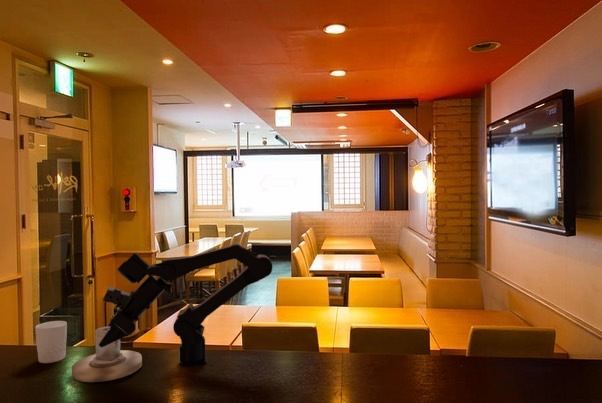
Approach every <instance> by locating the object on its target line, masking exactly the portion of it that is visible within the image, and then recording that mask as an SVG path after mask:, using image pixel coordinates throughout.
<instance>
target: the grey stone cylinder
mask: <svg viewBox="0 0 602 403" xmlns="http://www.w3.org/2000/svg"><path fill="white" fill-rule="evenodd" d="M109 329H110V326H108V325H107V326H102V327H98V328H96V329H95V331H94V332H95V333H94V335H95V338H94V339H95V341H94V342H95V343H94V344H95V354H96V356H95V357H94V358H93V364H94V365H95V366H110V365H114V364H117V363H119V362H121V361H122V360H123V354H122V353H120V350H121V339H119V340H117V341H114V342H112V343H110V344H108V345H106V346H104V347H100V346H99V343H100V342H101V340H102V339H103V337H104V336H105V334H106V333H107V332H108V330H109Z"/></svg>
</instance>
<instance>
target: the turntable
mask: <svg viewBox="0 0 602 403" xmlns="http://www.w3.org/2000/svg"><path fill="white" fill-rule="evenodd" d="M120 353H122V354H123V360H122V361H121V362H119V363H117V364H114V365H110V366H95V365H94V364H93V358H94V357H95V356H96V353H94V354H91V355H87V356H85V357H82V358H80V359H79V360H77V361H75V362H74V363H73V364H72V366H71V377H72V379H73V380H75V381H79V382H82V383H83V382H84V383H101V382H106V381H107V382H108V381H114V380H117V379H120V378H124V377H126V376H129V375H132V374H133V373H135V372H137V371H138V370H139V369H140V368H141V367H142V365H143V357H142V354H141V353H140V352H137V351H134V350H128V349H127V350H126V349H125V350H122V349H120Z"/></svg>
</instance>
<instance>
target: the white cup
mask: <svg viewBox="0 0 602 403" xmlns="http://www.w3.org/2000/svg"><path fill="white" fill-rule="evenodd" d="M67 323H68V322H67V321H65V320H54V321H53V320H52V321H46V322H43V323H42V322H41V323H39V324H36V326H35V327H34V328H35V338H36V339H35V340H36V341H35V342H36V349H37V358H38V359H37V360H38V362H39V363H41V364H51V363H56V362H60V361H62V360H63V359H65V358H66V355H67V354H66V353H67V352H66V351H67V349H66V347H67V339H68V338H67V332H68V331H67V330H68V324H67Z"/></svg>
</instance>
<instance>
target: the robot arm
mask: <svg viewBox="0 0 602 403" xmlns="http://www.w3.org/2000/svg"><path fill="white" fill-rule="evenodd" d="M231 260H236V261H238V262H240V264H242V265H244V266H245V267H244V268H243V270H242V271H240V273H239V274H237V275H236V276H235V277H234V278H232V279H230V280H229V281H228V282H227V283H225V284H224V285H223V286H222V287H220V288H219V289H218V290H217V291H215V292H214V293H213V294H211V295H210V296H209V297H207V298H206V299H204V300H203V301H202V302H201V303H199V304H195V305H194V304H193V302H190V303H189V304H187V306H186V307H185V308H183V309H181V310H179V312H178V313H177V316H176V319H175V321H174V322H173V332H174V334H175V335H176V336H177V337H179V338H180V344H178V358H179V359H178V360H179V362H180V363H181V366H182V367H189V366H195V365H205V364H206V363H207V359H206V338H205V336H204V332H205V326H204V325H203V324H202V323H204V321H205V320H206V319H207V318H208V317H209V315H211V314H213V313H214V312H215V311H216V310H218V309H219V308H221V306H223V305H224V304H225V303H227V302H228V301H229V300H230V299H232V298H233V297H235V296H236V295H237V294H239V293H240V292H241V291H243V290H244V289H245V288H246V287H247V286H250V285H252V284H255V283H257V282H260V281H261V280H263V279H264V278H267V277H268V276H270V275H271V274H272V271H273V263H272V261H271V259H270V257H268V256H267V255H266V254H257V253H255V252H253V251H251V250H249V249H247V248H246V247H243V246H242V245H241V244H239V243H238V242H237V243H232V244H231V245H227V246H224V247H221V248H217V249H213V250H209V251H205V252H202V253H198V254H194V255H189V256H188V255H186V256H185V255H184V256H173V257H171V256H170V257H169V258H166V259H165V260H163V261H162V262H159V263H153V264H149V263H148V262H147V261H146V260H145V259H144V258H143V257H142V256H141V255H140V254H139V253H138V252H135V253H133V254H132V255H131V256H130V257H129V258H128V259H127V260H126V261H123V262H122V264H120V266H119V267H118V268H117V269H116V272H118V273H119V275H121V276H123V277H124V278H125V280H127V281H128V282H129V283H130V284H132V285H133V284H140V283H141V282H142V281H143V280H144V279H145V278H146V277H147V276H148V277H147V278H146V279H145V280H144V281H143V282H142V283H141V284H140V285H139V286H138V287H137V288H136V289H134V290H132V291H131V292H126V291H125V290H121V289H118V288H116V287H112V286H108V288H107V290H106V292H105V294H104V296H103V299H102V301H103V302H106V303H111V304H113V305H115V306H114V308H113V315H112V317H111V318H110V320H109V324H108V325H107V326H110V329H109V330H108V332H107V333H106V334H105V336H104V337H103V339H102V340H101V342H100V343H99V346H100V347H104V346H106V345H108V344H110V343H112V342H114V341H117V340H119V339H120V340H122V339H123V338H125V337H128V336H131V335H132V334H133V333H134V332H135V331H137V330H136V329H137V322H138V321H139V319H140V316H142V315H143V314H144V312H145V311H146V310H149V309H150V308H151V305H152V304H153V303H154V302H155V301H156V300H157V299H158V298H159V297H160V296H161V294H163V293H164V292H167V293H168V294H169V295H170V294H172V292H173V290H172V289H173V288H172V286H173V283H172V281H174V280H177V279H179V278H181V277H183V276H185V275H187V274H188V273H190V272H193V271H195V270H198V269H201V268H205V267H208V266H212V265H216V264H219V263H223V262H228V261H231ZM157 277H158V278H157Z"/></svg>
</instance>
